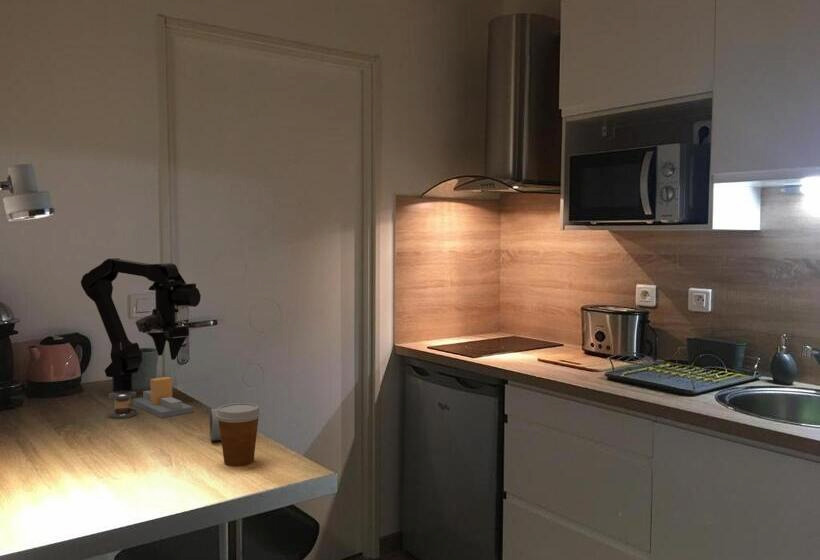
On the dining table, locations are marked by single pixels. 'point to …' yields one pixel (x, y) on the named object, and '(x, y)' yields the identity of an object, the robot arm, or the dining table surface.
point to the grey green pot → (146, 369)
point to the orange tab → (160, 389)
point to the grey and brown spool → (122, 404)
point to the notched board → (162, 406)
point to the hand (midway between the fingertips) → (166, 357)
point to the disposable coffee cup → (238, 432)
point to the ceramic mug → (214, 426)
